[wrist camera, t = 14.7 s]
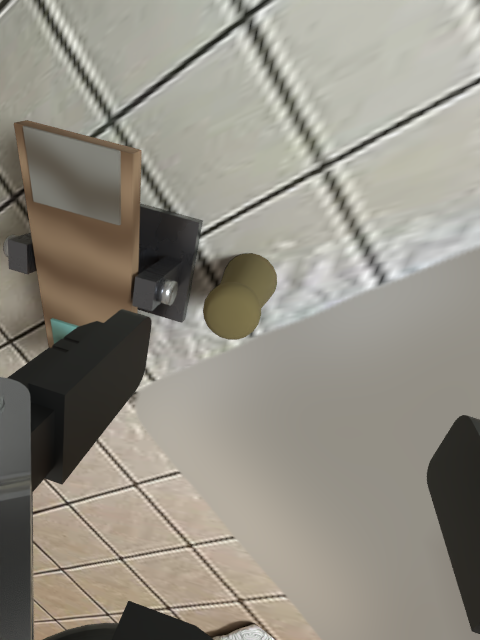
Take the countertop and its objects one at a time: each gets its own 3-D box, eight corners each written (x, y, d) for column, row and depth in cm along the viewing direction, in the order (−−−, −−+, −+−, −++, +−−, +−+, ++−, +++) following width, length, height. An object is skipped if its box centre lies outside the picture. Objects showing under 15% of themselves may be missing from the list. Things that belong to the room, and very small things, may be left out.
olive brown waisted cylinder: (216, 291, 44) (185, 332, 34) (235, 244, 41) (207, 273, 32) (264, 313, 44) (246, 360, 34) (286, 267, 41) (273, 303, 32)
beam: (26, 120, 31) (11, 123, 30) (141, 150, 30) (130, 154, 29) (58, 348, 46) (48, 357, 45) (135, 372, 45) (128, 383, 44)
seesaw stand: (56, 180, 43) (-7, 187, 35) (204, 221, 41) (175, 238, 33) (55, 279, 48) (0, 306, 40) (186, 319, 46) (157, 354, 38)
